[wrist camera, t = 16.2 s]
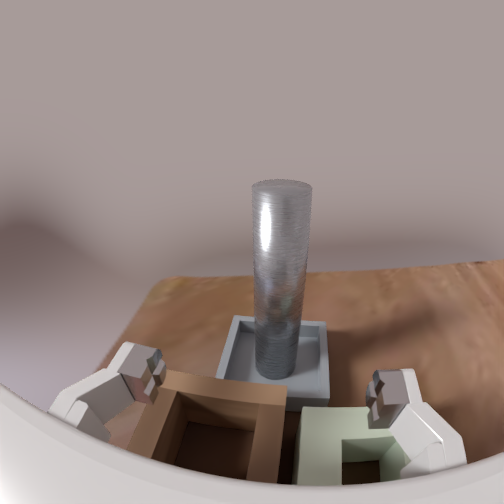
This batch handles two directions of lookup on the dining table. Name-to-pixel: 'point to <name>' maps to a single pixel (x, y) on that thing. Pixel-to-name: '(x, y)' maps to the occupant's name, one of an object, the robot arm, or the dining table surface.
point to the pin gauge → (279, 272)
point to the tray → (306, 370)
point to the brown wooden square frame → (214, 418)
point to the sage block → (341, 446)
